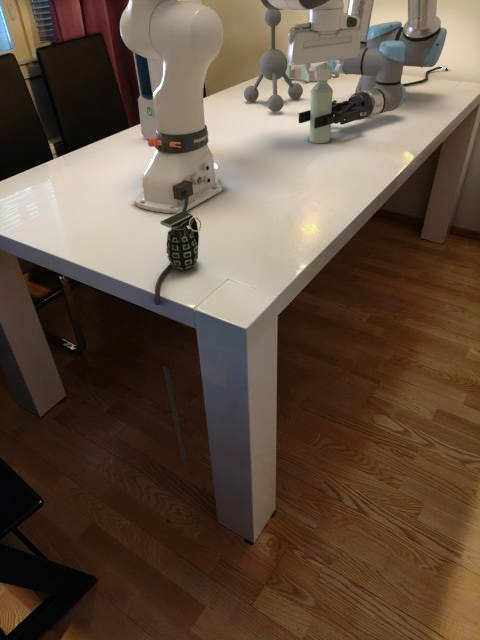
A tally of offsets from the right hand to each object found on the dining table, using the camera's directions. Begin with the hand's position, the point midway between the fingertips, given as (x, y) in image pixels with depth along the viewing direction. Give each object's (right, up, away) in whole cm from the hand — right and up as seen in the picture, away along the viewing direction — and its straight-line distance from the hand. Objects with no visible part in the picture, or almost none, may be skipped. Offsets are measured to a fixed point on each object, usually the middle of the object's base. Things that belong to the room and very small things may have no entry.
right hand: (307, 120), depth 138 cm
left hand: (+4, +10, -4) cm, 11 cm away
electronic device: (-43, 0, +15) cm, 46 cm away
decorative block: (+11, +49, +73) cm, 89 cm away
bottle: (+5, -3, +6) cm, 8 cm away
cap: (+4, +11, -5) cm, 13 cm away
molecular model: (-5, +22, +40) cm, 46 cm away
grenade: (-29, -47, -47) cm, 72 cm away
